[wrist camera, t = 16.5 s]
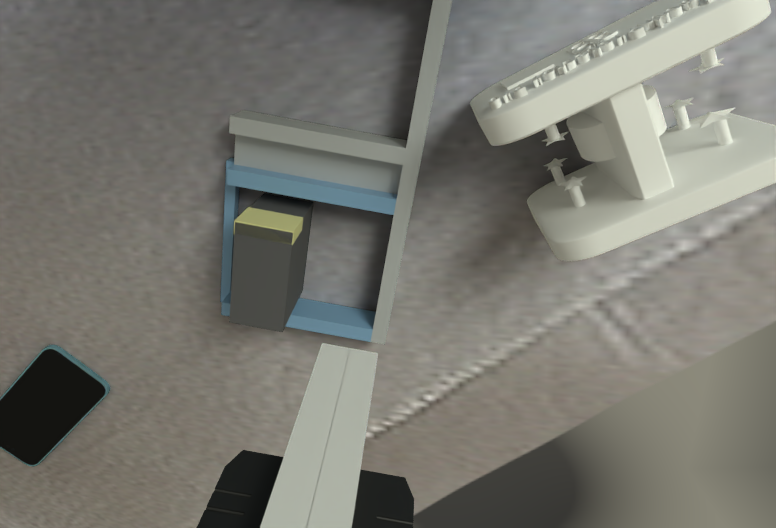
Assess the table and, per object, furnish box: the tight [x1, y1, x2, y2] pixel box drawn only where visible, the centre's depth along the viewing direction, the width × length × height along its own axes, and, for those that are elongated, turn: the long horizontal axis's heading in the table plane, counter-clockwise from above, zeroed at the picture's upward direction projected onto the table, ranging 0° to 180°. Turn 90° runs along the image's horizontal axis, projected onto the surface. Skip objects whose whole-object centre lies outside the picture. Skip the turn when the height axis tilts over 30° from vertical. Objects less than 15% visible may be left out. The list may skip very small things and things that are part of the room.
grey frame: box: [220, 0, 452, 345], centre depth 39 cm, size 27×14×3 cm, turn 170°
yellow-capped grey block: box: [229, 193, 313, 332], centre depth 41 cm, size 8×4×7 cm, turn 170°
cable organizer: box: [470, 0, 776, 261], centre depth 33 cm, size 15×11×12 cm
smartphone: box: [0, 345, 110, 466], centre depth 53 cm, size 7×1×15 cm
